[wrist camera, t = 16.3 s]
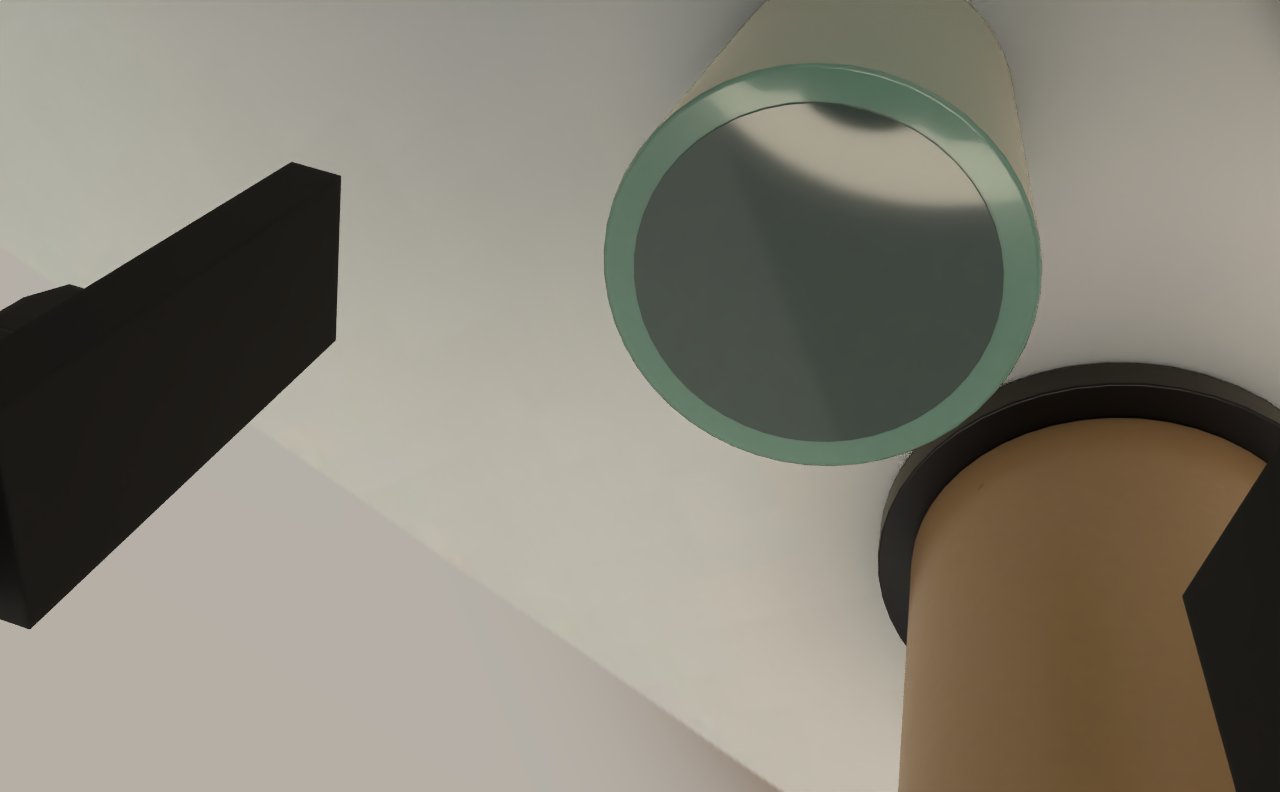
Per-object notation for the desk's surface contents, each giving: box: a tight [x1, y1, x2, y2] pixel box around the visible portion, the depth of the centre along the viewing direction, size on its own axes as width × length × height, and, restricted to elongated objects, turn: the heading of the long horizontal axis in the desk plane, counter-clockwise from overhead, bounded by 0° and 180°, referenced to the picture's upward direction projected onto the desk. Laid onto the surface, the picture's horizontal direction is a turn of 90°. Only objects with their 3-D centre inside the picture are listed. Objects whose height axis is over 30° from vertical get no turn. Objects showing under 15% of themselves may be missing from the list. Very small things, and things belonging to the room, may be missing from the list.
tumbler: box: [604, 0, 1042, 466], centre depth 23 cm, size 8×8×10 cm
